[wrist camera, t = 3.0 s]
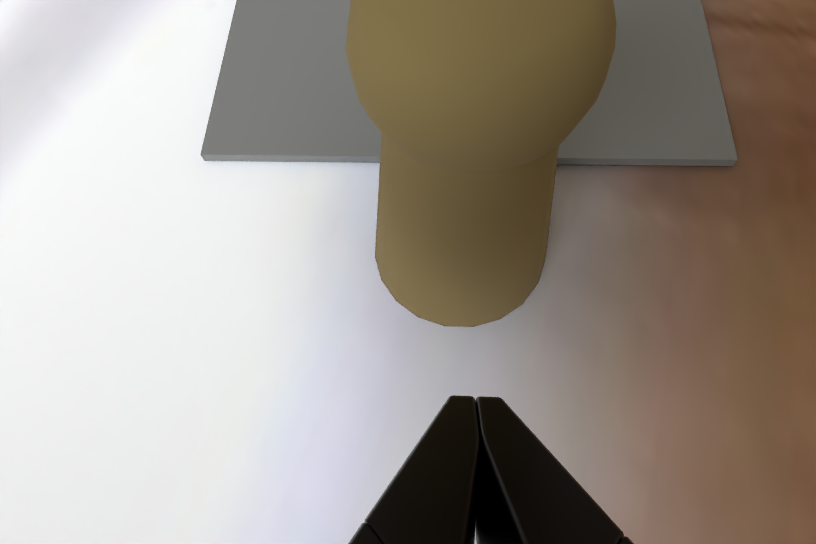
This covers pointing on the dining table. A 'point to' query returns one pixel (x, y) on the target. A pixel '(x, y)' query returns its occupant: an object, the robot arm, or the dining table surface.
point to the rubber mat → (361, 139)
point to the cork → (472, 139)
